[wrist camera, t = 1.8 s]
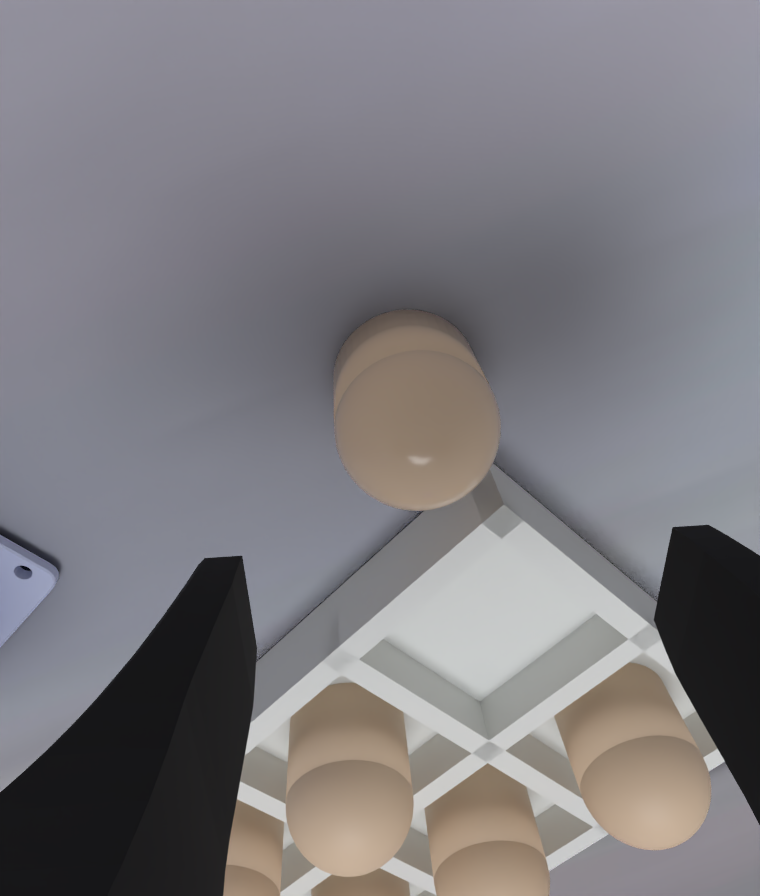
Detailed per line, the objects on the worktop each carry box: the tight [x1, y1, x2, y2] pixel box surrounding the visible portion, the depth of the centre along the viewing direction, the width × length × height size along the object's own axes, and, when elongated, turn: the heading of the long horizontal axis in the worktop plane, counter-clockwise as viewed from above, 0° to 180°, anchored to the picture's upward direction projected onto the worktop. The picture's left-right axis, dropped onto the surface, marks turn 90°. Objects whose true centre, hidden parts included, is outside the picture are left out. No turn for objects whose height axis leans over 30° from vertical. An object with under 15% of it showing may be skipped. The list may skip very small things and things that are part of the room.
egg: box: [333, 309, 501, 511], centre depth 17 cm, size 4×4×5 cm
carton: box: [223, 464, 725, 896], centre depth 24 cm, size 14×21×6 cm
